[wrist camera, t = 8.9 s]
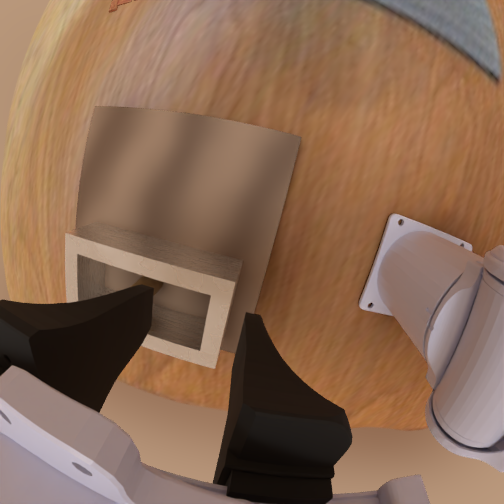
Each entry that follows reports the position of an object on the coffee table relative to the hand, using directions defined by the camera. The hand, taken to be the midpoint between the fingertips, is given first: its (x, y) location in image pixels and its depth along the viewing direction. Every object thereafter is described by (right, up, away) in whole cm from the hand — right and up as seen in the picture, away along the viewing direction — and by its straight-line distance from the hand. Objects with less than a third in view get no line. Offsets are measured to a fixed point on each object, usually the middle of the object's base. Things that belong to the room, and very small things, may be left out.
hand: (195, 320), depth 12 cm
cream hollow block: (-5, +1, +9) cm, 10 cm away
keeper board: (-4, +5, +9) cm, 11 cm away
